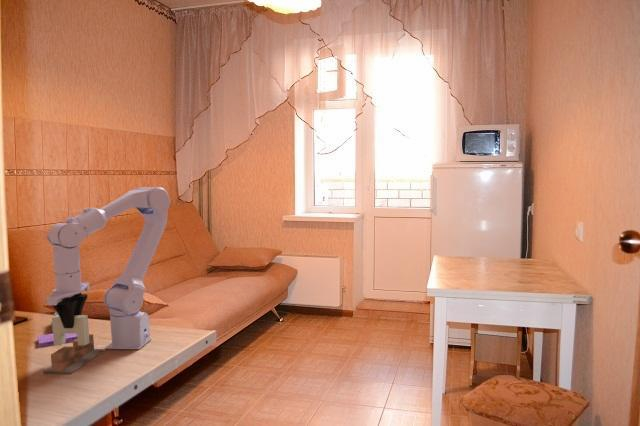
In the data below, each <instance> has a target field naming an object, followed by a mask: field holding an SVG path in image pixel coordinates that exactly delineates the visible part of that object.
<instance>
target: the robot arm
mask: <svg viewBox="0 0 640 426" xmlns="http://www.w3.org/2000/svg"><path fill="white" fill-rule="evenodd" d="M171 203H172V200H171V198H170V195H169V193H168V191H167V190H166V189H165V188H164V187H162V186H156V187H149V186H148V187H144V186H139V187H136V188H134V189H131V190H129V191H127V192H125V194H123V195H121V196H120V197H118V198H116V199H114V200H113V201H111V202H109V203H108V204H106V205H103V207H101V208H96V207H85V208H83V209H82V212H81V213H79V214H77V215H75V216H73V217H71V216H70V217H69V216H68V217H67V218H65V220H66V221H65V222H57V223H55V224H54V225H52V226H51V227H50V229H49V230H48V233H47V235H46V240H47V242H48V243H49V244H50V245H51V246H52V257H53V259H52V260H53V271H54V281H55V282H54V283H55V288H54V289H52V290H51V294H50V295H49V296H47V297H46V305H47V306H52V307H53V308H54V310H55V312H56V311H57V313H58V314H59V316H60V319H61V321H62V324H63V327H64V328H73V326H74V315H82V313H83V309H84V305H85V303H86V301H87V299H88V294H86V293H83V292H87V291H90V289H91V288H90V282H82V270H81V269H82V268H81V257H80V256H81V254H80V245H81V244H82V242H83V240H84V239H85V238H87V237H88V236H90V235H92V234H94V233H96V232H98V231H99V230H102V229H103V228H104V227H106V224H107V221H108V220H110V219H111V218H115V216H118V215H120V214H122V213H124V212H126V211H128V210H130V209H132V208H135V209H136V210H137V212H139V214H140V215H141V216H142V217H143V220H144V225H143V228H142V231H141V233H140V235H139V237H138V238H137V241H136V243H135V246H134V248H133V251H132V252H131V255H130V257H129V259H128V262H127V264H126V266H125V269H124V271H123V272H122V274H121V275H120V276H118V277H117V278H116V279H115V280H114V281H113V283H112V285H111V286H110V287H109V288H108V289H107V290H106V291H105V293H104V295H103V303H104V305H105V306H106V308H108V311H109V319H110V335H111V343H109V344H108V345H106V346H105V350H140V349H141V348H143V347H144V346H146V344H148V343H150V341H151V340H152V337H151V325H150V323H151V322H150V316H149V314H148V313H147V312H143V311H140V310H141V308H142V307H143V303H144V296H145V295H144V294H145V291H146V287H145V284H144V277H145V276H146V274H147V271H148V269H149V266H150V264H151V262H152V259H153V257H154V255H155V252H156V250H157V248H158V245H159V243H160V241H161V239H162V236H163V234H164V231H165V229H166V228H167V224H168V215H169V214H168V213H169V207H170V205H171Z"/></svg>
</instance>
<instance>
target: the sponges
mask: <svg viewBox="0 0 640 426" xmlns="http://www.w3.org/2000/svg"><path fill="white" fill-rule="evenodd" d="M65 337H66V343H65V344H67V343H73V341H74V340H76V339H77V334H65ZM37 342H38V343H39V344H38V348H44V347H49V346H55V345H54V338H53V333H48V334H41V335H38V336H37Z"/></svg>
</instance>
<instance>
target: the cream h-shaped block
mask: <svg viewBox="0 0 640 426" xmlns="http://www.w3.org/2000/svg"><path fill="white" fill-rule="evenodd" d="M88 317H89V316H88V314H81V315H74V326H73V328H64V327H63V324H62V321H61V319H60V316H59V315H56V316H54V315H53V317H51V321H52V325H53V331H52V334H53V338H54V345H53V346H63V345H64V344H67V343H66V337H65V334H77V338H78V345H87V344H88V343H90V342H89V334H90V332H89V328H90V327H89V318H88Z"/></svg>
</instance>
